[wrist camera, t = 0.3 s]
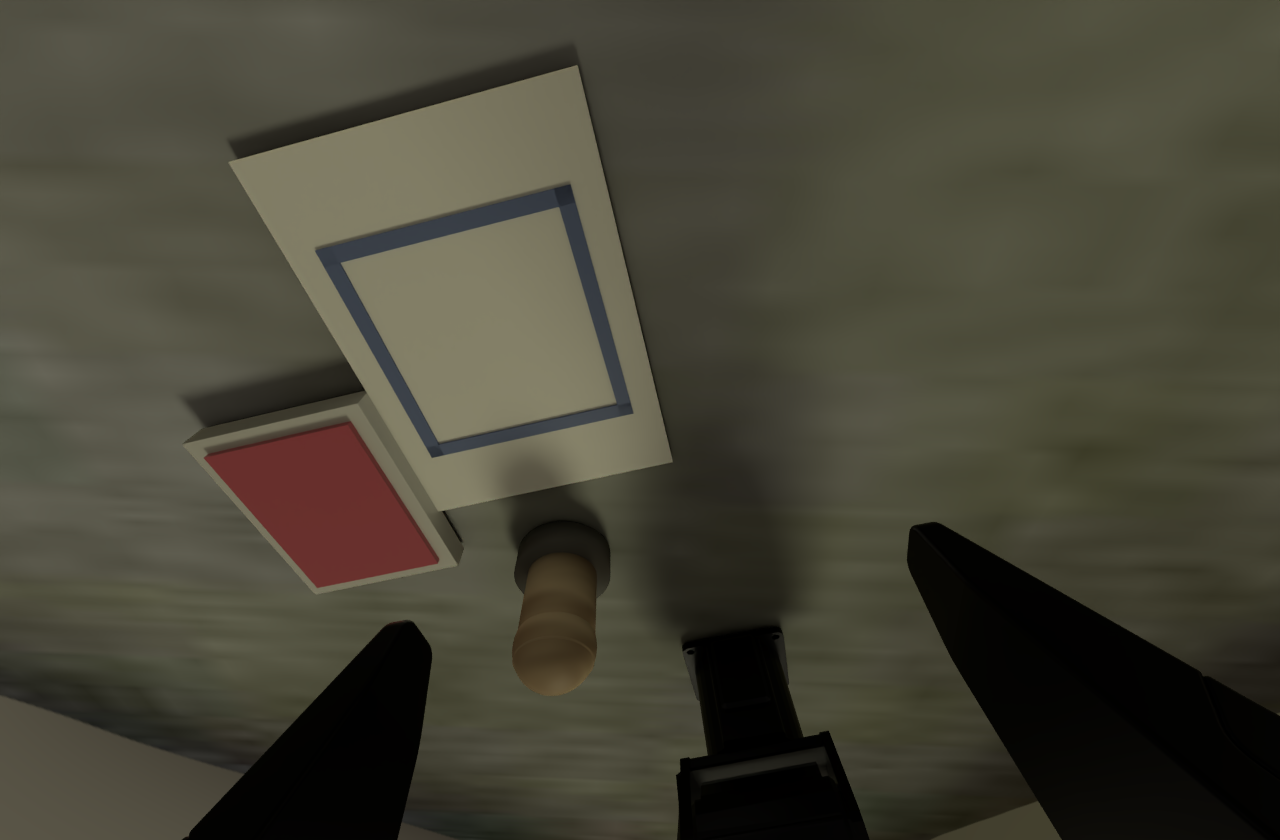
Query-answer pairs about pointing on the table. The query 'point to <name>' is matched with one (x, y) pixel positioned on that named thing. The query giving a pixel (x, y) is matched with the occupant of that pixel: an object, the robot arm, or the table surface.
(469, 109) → the paper
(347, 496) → the ink pad
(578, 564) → the stamp
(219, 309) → the table surface
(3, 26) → the table surface
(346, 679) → the robot arm
